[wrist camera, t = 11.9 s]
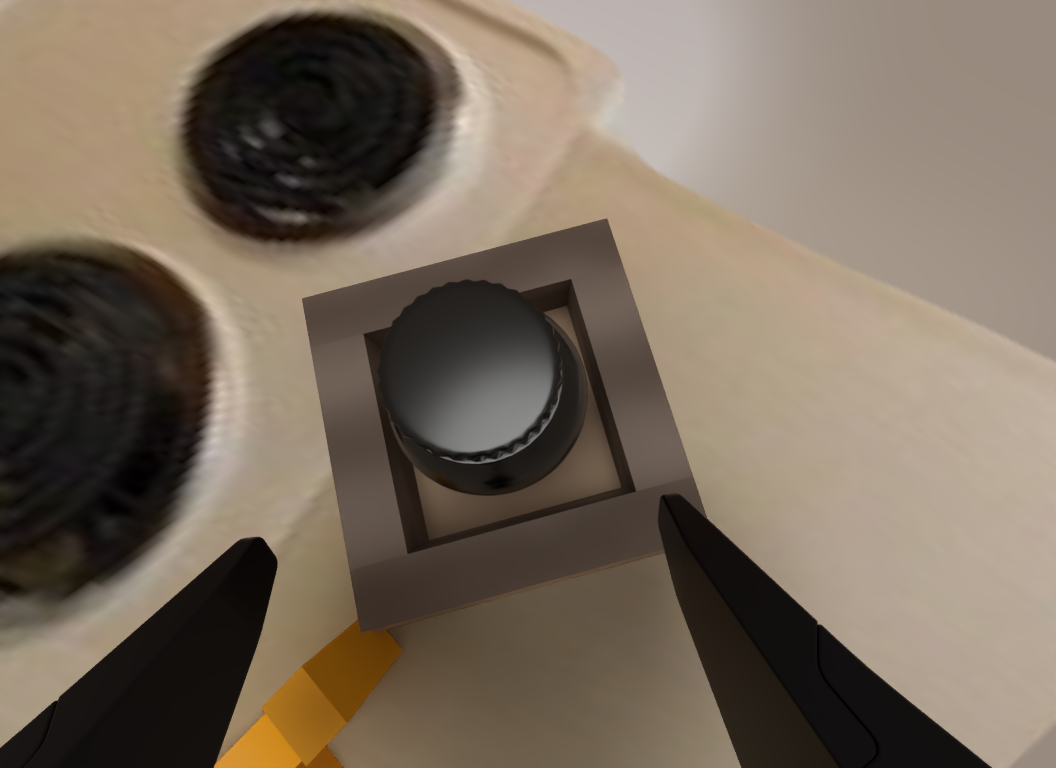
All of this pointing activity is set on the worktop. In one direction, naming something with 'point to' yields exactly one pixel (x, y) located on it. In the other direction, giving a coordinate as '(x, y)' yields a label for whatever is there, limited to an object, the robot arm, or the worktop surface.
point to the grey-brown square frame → (515, 518)
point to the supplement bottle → (482, 388)
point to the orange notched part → (316, 704)
